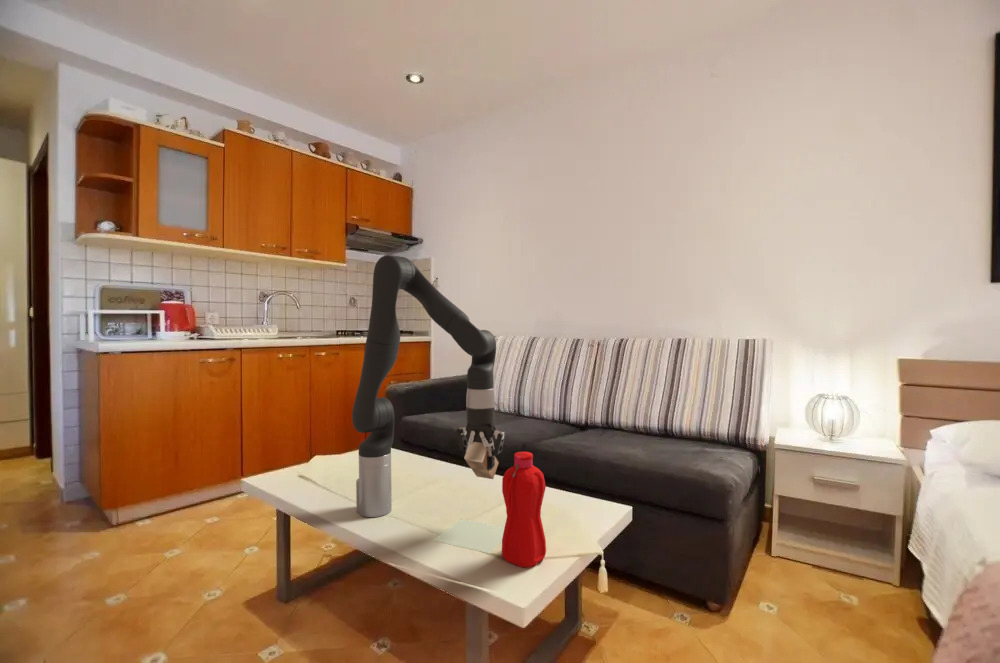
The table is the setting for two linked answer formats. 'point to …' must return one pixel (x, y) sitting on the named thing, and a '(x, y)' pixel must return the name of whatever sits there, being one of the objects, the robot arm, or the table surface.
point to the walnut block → (479, 460)
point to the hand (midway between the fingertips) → (480, 467)
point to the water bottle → (523, 512)
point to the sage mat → (473, 535)
